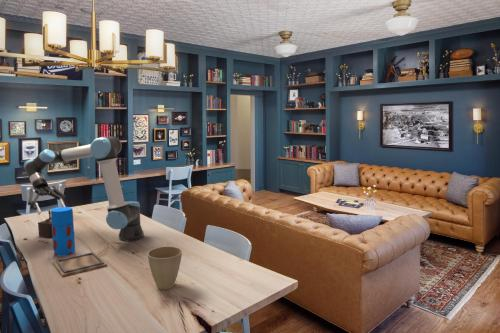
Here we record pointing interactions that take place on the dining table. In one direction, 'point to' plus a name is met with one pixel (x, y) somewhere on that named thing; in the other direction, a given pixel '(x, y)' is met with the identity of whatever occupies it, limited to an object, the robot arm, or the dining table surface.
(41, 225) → the manual coffee grinder
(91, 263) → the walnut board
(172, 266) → the plant pot
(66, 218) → the thermos
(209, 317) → the dining table surface
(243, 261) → the dining table surface
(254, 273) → the dining table surface
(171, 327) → the dining table surface
